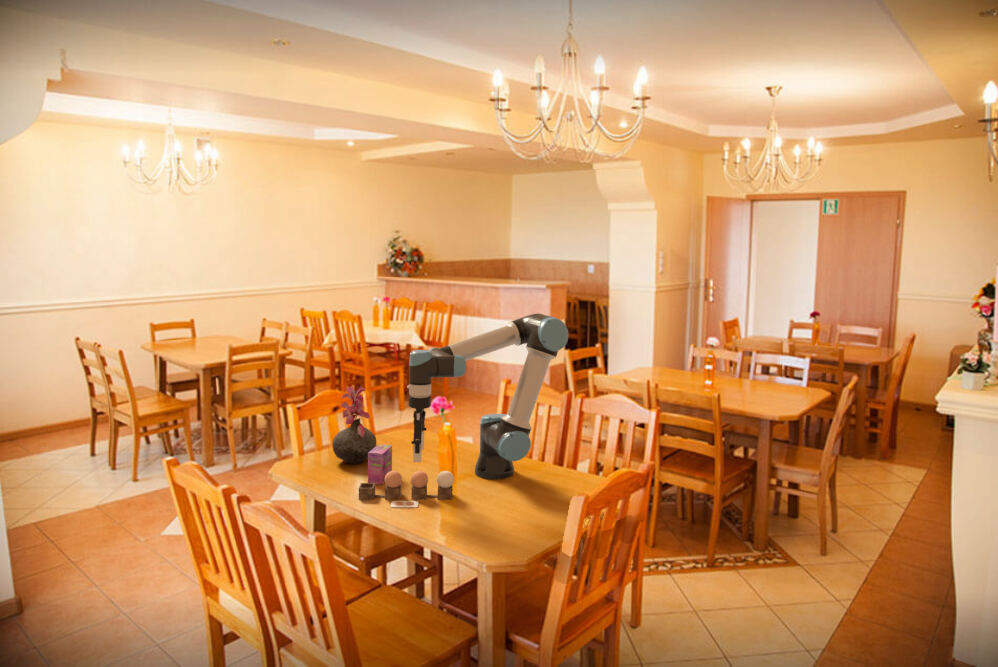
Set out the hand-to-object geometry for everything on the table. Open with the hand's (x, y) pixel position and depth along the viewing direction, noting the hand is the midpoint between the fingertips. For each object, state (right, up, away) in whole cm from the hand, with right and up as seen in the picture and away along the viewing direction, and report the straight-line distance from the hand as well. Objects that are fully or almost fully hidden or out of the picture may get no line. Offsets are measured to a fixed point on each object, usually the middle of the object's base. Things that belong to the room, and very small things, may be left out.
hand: (418, 455), depth 227 cm
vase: (-30, -9, +36) cm, 47 cm away
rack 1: (-13, -15, +1) cm, 20 cm away
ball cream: (+9, -12, +2) cm, 15 cm away
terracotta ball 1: (-9, -11, +1) cm, 15 cm away
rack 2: (+4, -15, +2) cm, 16 cm away
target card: (-4, -16, -5) cm, 17 cm away
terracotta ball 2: (0, -12, +1) cm, 12 cm away
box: (-17, -12, +18) cm, 27 cm away
